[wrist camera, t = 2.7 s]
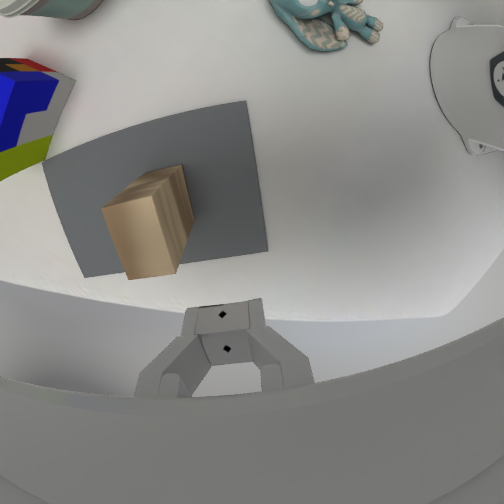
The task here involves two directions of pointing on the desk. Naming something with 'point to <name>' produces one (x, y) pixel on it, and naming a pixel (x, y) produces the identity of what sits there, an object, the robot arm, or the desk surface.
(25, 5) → the coffee cup
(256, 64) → the desk surface
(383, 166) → the desk surface
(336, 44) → the stuffed animal
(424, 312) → the desk surface
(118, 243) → the oak block
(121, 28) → the desk surface
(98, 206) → the mat
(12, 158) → the puzzle toy
